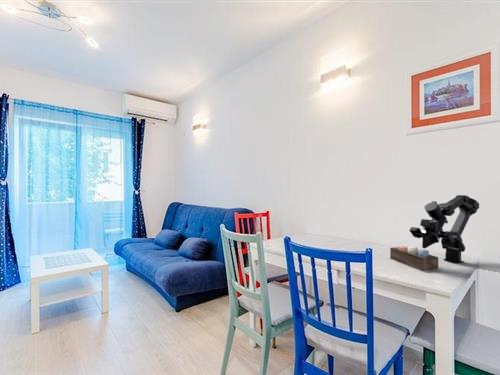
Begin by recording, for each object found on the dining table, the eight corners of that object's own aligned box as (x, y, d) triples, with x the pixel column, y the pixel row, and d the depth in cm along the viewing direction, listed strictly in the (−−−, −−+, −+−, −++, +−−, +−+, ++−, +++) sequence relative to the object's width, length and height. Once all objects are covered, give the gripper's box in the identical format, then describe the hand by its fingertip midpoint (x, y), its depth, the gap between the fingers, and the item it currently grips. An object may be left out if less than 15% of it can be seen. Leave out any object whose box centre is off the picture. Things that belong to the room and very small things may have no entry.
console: (404, 257, 148) (404, 247, 148) (438, 269, 127) (438, 257, 127) (390, 258, 147) (390, 247, 147) (421, 270, 125) (421, 258, 125)
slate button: (423, 259, 132) (423, 249, 132) (431, 261, 128) (431, 251, 128) (415, 259, 132) (415, 249, 132) (423, 261, 127) (422, 251, 127)
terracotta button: (403, 254, 146) (403, 246, 146) (409, 256, 142) (409, 247, 142) (396, 255, 146) (396, 246, 146) (402, 257, 141) (402, 248, 141)
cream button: (413, 255, 139) (413, 246, 139) (419, 257, 135) (419, 248, 135) (405, 255, 139) (405, 246, 139) (412, 258, 134) (411, 248, 134)
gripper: (411, 211, 141) (398, 234, 136) (450, 215, 124) (436, 240, 119) (420, 225, 144) (407, 247, 139) (459, 230, 127) (446, 256, 122)
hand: (423, 247), depth 130 cm, fingers closed
